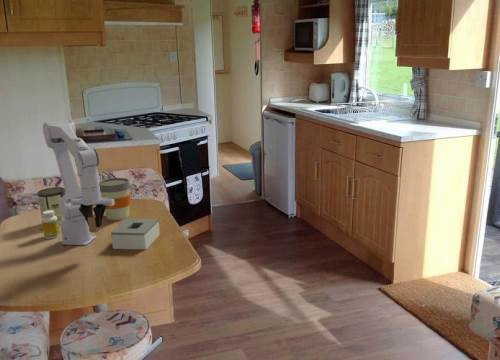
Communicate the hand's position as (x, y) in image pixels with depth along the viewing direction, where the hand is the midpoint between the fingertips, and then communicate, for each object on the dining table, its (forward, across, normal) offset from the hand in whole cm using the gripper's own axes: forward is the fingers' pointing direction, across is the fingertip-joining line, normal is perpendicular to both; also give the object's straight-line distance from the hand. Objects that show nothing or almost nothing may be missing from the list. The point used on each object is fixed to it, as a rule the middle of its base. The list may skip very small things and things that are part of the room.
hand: (95, 226), depth 160 cm
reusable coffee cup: (+11, -11, +38) cm, 41 cm away
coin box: (+10, +8, +13) cm, 18 cm away
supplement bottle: (+11, -27, +15) cm, 33 cm away
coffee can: (+11, -33, +28) cm, 45 cm away
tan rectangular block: (+1, 0, 0) cm, 1 cm away
